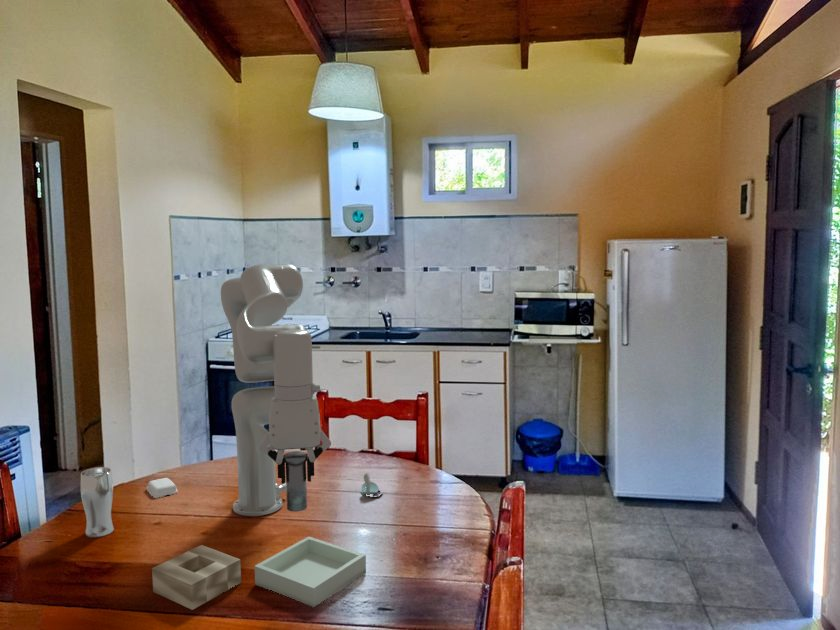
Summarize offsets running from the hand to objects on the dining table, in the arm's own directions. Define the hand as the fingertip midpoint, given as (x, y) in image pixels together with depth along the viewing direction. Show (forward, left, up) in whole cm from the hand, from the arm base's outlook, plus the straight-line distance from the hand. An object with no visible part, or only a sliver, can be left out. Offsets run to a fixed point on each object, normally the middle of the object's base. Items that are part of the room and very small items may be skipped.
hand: (296, 479), depth 136 cm
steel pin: (0, 0, -6) cm, 6 cm away
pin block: (+13, -15, -21) cm, 29 cm away
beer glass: (+9, -56, -22) cm, 61 cm away
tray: (-2, +2, -21) cm, 22 cm away
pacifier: (-45, -15, -22) cm, 52 cm away
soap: (-15, -66, -22) cm, 71 cm away
